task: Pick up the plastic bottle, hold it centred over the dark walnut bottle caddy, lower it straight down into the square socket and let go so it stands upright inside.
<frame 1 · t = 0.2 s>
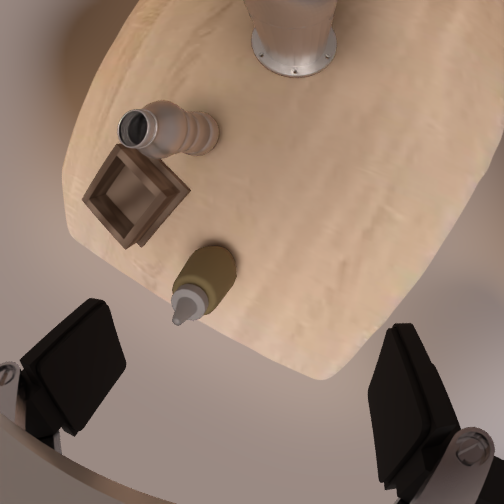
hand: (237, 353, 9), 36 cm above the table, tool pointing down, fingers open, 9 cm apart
bottle caddy: (138, 191, 46), on the table
squeeze bottle: (218, 261, 48), on the table
plastic bottle: (202, 134, 41), on the table
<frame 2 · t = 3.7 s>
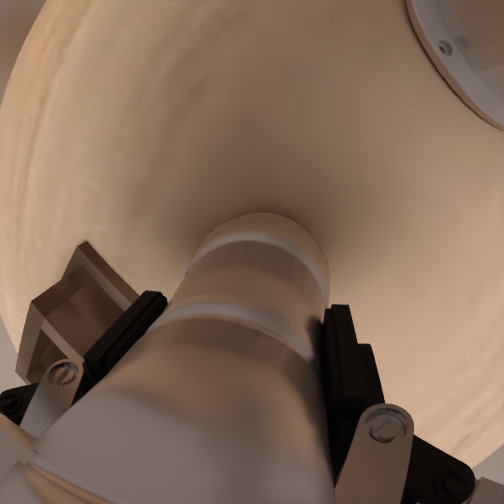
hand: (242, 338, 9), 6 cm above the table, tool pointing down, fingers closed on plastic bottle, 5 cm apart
bottle caddy: (117, 356, 20), on the table
plastic bottle: (266, 262, 16), on the table, touching gripper
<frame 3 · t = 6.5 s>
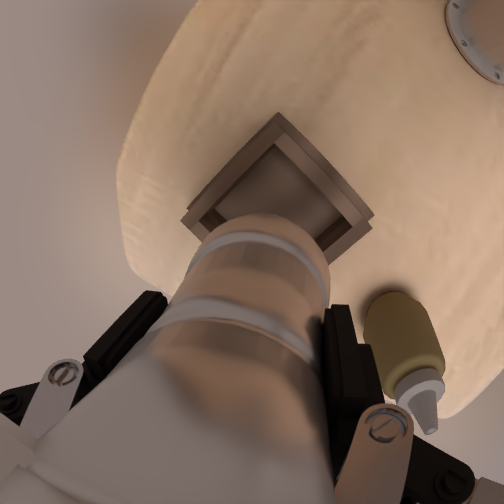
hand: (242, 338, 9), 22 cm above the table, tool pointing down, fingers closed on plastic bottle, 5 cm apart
bottle caddy: (279, 207, 30), on the table
squeeze bottle: (389, 310, 32), on the table
plastic bottle: (266, 263, 16), point 15 cm above the table, touching gripper
when the fingers open (9 cm above the table, at t = 9.5 s): plastic bottle drops 1 cm, resting on bottle caddy.
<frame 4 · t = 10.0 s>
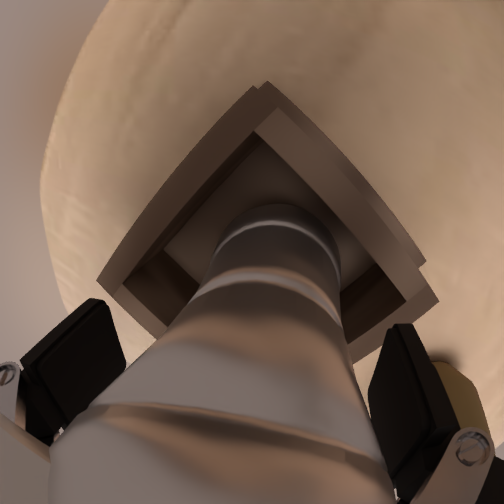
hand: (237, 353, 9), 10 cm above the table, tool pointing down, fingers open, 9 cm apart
bottle caddy: (270, 248, 18), on the table
squeeze bottle: (423, 382, 20), on the table
plastic bottle: (280, 251, 17), point 1 cm above the table, touching bottle caddy
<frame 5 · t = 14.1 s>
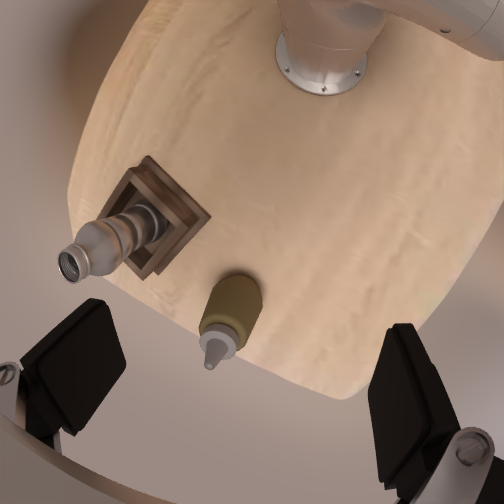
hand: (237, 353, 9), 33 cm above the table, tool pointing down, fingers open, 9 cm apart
bottle caddy: (153, 216, 44), on the table
squeeze bottle: (241, 290, 46), on the table
plastic bottle: (154, 217, 43), point 1 cm above the table, touching bottle caddy
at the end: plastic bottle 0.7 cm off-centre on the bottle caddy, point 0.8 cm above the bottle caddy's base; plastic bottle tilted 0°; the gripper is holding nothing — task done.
